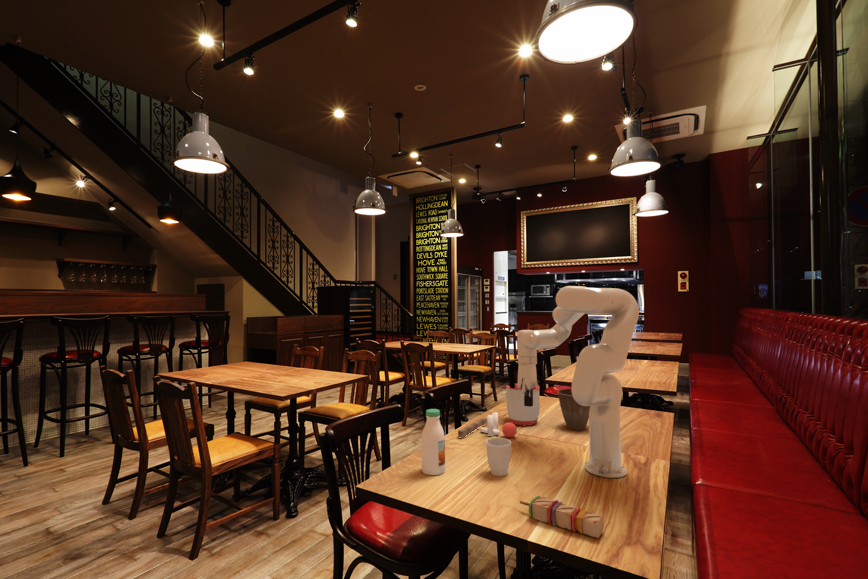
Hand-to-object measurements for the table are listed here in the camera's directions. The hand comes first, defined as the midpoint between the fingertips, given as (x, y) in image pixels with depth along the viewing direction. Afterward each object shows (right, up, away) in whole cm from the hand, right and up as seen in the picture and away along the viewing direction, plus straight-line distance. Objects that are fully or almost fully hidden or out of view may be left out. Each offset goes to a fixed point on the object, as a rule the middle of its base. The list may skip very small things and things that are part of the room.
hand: (528, 405), depth 165 cm
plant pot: (+25, -15, +16) cm, 33 cm away
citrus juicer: (+3, -16, +26) cm, 31 cm away
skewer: (-7, -12, -63) cm, 65 cm away
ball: (-7, -11, +5) cm, 14 cm away
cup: (-17, -13, -32) cm, 39 cm away
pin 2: (-12, -15, +10) cm, 22 cm away
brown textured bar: (-21, -15, +13) cm, 29 cm away
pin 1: (-15, -15, +6) cm, 22 cm away
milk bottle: (-39, -13, -30) cm, 51 cm away
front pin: (-11, -13, +7) cm, 18 cm away
